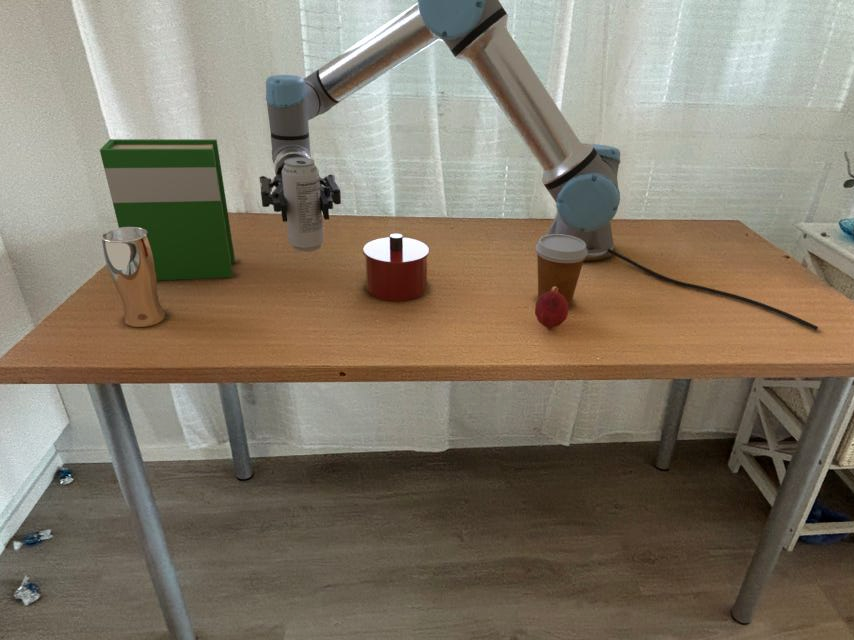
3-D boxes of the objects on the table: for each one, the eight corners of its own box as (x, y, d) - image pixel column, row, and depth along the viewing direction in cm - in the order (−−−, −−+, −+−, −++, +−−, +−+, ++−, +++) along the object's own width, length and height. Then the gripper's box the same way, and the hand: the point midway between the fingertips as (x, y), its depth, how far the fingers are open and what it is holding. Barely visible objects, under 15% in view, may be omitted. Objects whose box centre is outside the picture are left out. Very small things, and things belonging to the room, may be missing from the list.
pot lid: (420, 240, 127) (421, 222, 125) (436, 265, 117) (436, 246, 115) (358, 244, 123) (357, 225, 122) (369, 270, 114) (368, 250, 112)
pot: (419, 273, 130) (419, 238, 126) (432, 298, 121) (433, 261, 117) (362, 277, 127) (361, 242, 123) (372, 303, 118) (370, 265, 114)
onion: (564, 338, 111) (570, 297, 106) (530, 333, 112) (535, 292, 107) (567, 323, 116) (572, 282, 111) (535, 318, 116) (540, 278, 112)
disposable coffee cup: (546, 317, 117) (554, 255, 111) (520, 295, 124) (526, 236, 118) (589, 308, 121) (599, 248, 115) (561, 288, 128) (569, 230, 122)
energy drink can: (312, 237, 118) (305, 154, 110) (330, 247, 114) (325, 162, 107) (282, 244, 114) (273, 159, 106) (300, 255, 111) (292, 168, 103)
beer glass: (139, 333, 104) (116, 245, 96) (113, 320, 107) (89, 234, 99) (176, 317, 109) (158, 233, 102) (151, 305, 112) (131, 223, 104)
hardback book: (235, 261, 130) (216, 139, 117) (232, 277, 124) (212, 149, 111) (139, 265, 126) (109, 139, 113) (132, 281, 120) (99, 150, 107)
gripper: (346, 190, 129) (364, 231, 111) (246, 193, 124) (247, 237, 105) (344, 152, 125) (362, 188, 107) (240, 153, 120) (241, 192, 101)
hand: (305, 212), depth 106 cm, fingers closed on energy drink can, 6 cm apart
